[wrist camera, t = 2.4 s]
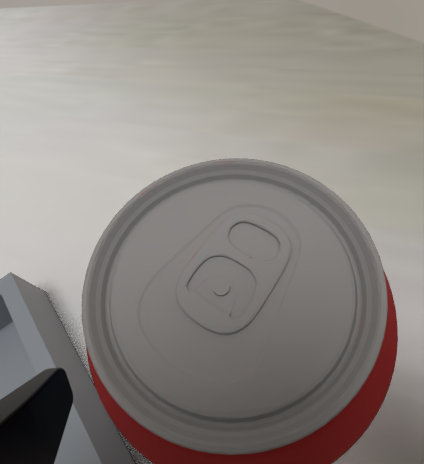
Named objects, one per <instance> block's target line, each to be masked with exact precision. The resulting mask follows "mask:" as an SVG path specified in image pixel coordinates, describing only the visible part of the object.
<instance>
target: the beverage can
mask: <svg viewBox="0 0 424 464" xmlns="http://www.w3.org/2000/svg"><path fill="white" fill-rule="evenodd" d="M82 324H83V331H84V336H85V342H86V348H87V356H88V362H89V367H90V371H91V375H92V378H93V381H94V385H95V387H96V390H97V392H98V395H99V397H100V400H101V402H102V404H103V405H104V407H105V409H106V411H107V413H108V415H109V416H110V418H111V419H112V421H113V423H114V424H115V426H116V427H117V428H118V429H119V431H120V432H121V433H122V435H123V436H124V437H125V438H126V439H127V440H128V441H129V442H130V444H131V445H132V446H133V447H134V448H135V449H136V450H138V451H139V452H140V453H141V454H142V455H143V456H145V457H146V458H147V459H148V460H150V461H151V462H153V463H154V464H332V463H333V462H334V461H336V460H337V459H338V458H339V457H341V456H342V455H343V454H344V453H346V452H347V451H348V450H349V449H350V448H351V447H352V446H353V445H354V444H355V443H356V442H357V441H358V440H359V438H360V437H361V436H362V435H363V433H364V432H365V431H366V430H367V428H368V427H369V425H370V424H371V422H372V421H373V419H374V418H375V416H376V415H377V413H378V411H379V409H380V407H381V405H382V403H383V401H384V399H385V396H386V394H387V391H388V388H389V386H390V383H391V379H392V375H393V372H394V367H395V361H396V355H397V341H398V337H397V319H396V310H395V305H394V300H393V295H392V292H391V289H390V285H389V282H388V280H387V277H386V275H385V272H384V270H383V267H382V263H381V260H380V256H379V254H378V252H377V249H376V247H375V245H374V243H373V241H372V239H371V237H370V235H369V233H368V231H367V230H366V228H365V227H364V225H363V223H362V222H361V221H360V219H359V218H358V217H357V215H356V214H355V213H354V211H353V210H352V209H351V208H350V207H349V206H348V205H347V204H346V203H345V202H344V201H343V200H342V199H341V198H340V197H339V196H338V195H336V194H335V193H334V192H333V191H331V190H330V189H329V188H327V187H326V186H325V185H323V184H322V183H320V182H319V181H317V180H315V179H313V178H312V177H310V176H308V175H306V174H304V173H302V172H299V171H297V170H294V169H292V168H289V167H287V166H283V165H280V164H276V163H272V162H268V161H262V160H254V159H220V160H212V161H206V162H202V163H198V164H194V165H191V166H187V167H184V168H181V169H179V170H177V171H174V172H172V173H170V174H168V175H166V176H164V177H162V178H160V179H158V180H157V181H155V182H153V183H152V184H150V185H149V186H147V187H146V188H144V189H143V190H142V191H140V192H139V193H138V194H137V195H135V196H134V197H133V198H132V199H131V200H130V201H128V202H127V203H126V205H125V206H124V207H123V208H122V209H121V210H120V211H119V212H118V213H117V214H116V216H115V217H114V218H113V219H112V221H111V222H110V223H109V225H108V226H107V228H106V229H105V231H104V232H103V234H102V236H101V238H100V239H99V241H98V243H97V245H96V247H95V249H94V252H93V254H92V257H91V259H90V262H89V265H88V268H87V272H86V276H85V281H84V287H83V293H82Z"/></svg>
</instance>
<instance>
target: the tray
mask: <svg viewBox="0 0 424 464" xmlns="http://www.w3.org/2000/svg"><path fill="white" fill-rule="evenodd" d="M57 367H62V368H64V370H65V371H66V374H67V377H68V380H69V383H70V386H71V389H72V392H73V404H72V407H71V411H70V414H69V417H68V420H67V424H66V427H65V430H64V433H63V437H62V440H61V443H60V447H59V450H58V453H57V456H56V459H55V462H54V464H135V463H134V461H133V459H132V457H131V455H130V453H129V451H128V449H127V447H126V446H125V444H124V442H123V440H122V438H121V436H120V434H119V432H118V430H117V428H116V426H115V424H114V423H113V421H112V419H111V418H110V416H109V415H108V413H107V411H106V409H105V407H104V405H103V404H102V402H101V400H100V397H99V395H98V392H97V390H96V388H95V386H94V384H93V382H92V380H91V379H90V377H89V375H88V373H87V371H86V369H85V367H84V365H83V363H82V361H81V359H80V358H79V356H78V354H77V352H76V350H75V348H74V346H73V344H72V342H71V340H70V338H69V336H68V335H67V333H66V331H65V329H64V327H63V325H62V323H61V321H60V319H59V317H58V315H57V314H56V312H55V310H54V308H53V306H52V304H51V302H50V300H49V298H48V296H47V294H46V293H45V291H43V290H41V289H39V288H38V287H36V286H34V285H32V284H30V283H29V282H27V281H25V280H23V279H21V278H20V277H18V276H16V275H14V274H12V273H11V272H10V273H9V274H7V275H6V276H4V277H3V278H1V279H0V399H2V398H3V397H5V396H6V395H8V394H9V393H11V392H12V391H14V390H15V389H17V388H18V387H20V386H21V385H23V384H24V383H26V382H27V381H29V380H30V379H32V378H33V377H35V376H36V375H38V374H39V373H41V372H42V371H44V370H45V369H48V368H57Z"/></svg>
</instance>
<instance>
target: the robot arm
mask: <svg viewBox="0 0 424 464" xmlns="http://www.w3.org/2000/svg"><path fill="white" fill-rule="evenodd" d="M72 404H73V392H72V389H71V386H70V383H69V380H68V377H67V374H66V371H65V370H64V368H62V367H57V368H48V369H45V370H44V371H42V372H41V373H39V374H38V375H36V376H35V377H33V378H32V379H30V380H29V381H27V382H26V383H24V384H23V385H21V386H20V387H18V388H17V389H15V390H14V391H12V392H11V393H9V394H8V395H6V396H5V397H3V398H2V399H0V464H54V462H55V459H56V456H57V453H58V450H59V447H60V443H61V440H62V437H63V433H64V430H65V427H66V424H67V420H68V417H69V414H70V411H71V407H72Z"/></svg>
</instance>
